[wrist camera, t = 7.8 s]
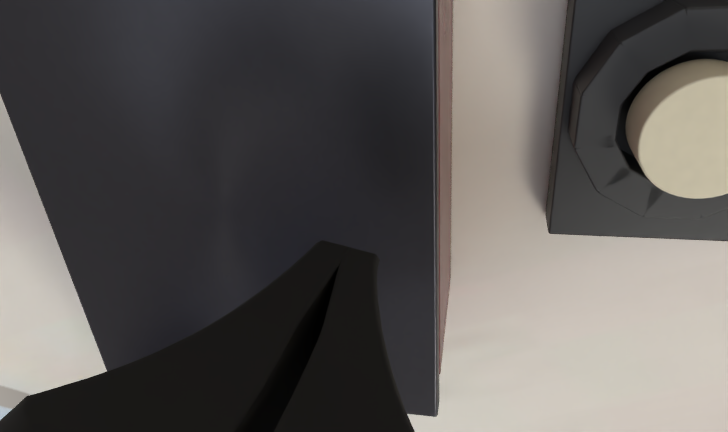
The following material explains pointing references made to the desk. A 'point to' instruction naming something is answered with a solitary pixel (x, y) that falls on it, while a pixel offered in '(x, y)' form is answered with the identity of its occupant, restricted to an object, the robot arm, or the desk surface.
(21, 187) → the desk surface
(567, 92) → the control block
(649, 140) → the button
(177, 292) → the dark grey box lid
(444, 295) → the dark red open box
